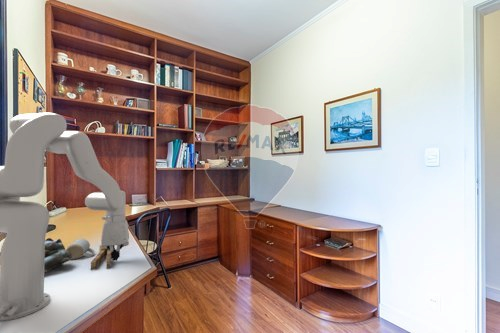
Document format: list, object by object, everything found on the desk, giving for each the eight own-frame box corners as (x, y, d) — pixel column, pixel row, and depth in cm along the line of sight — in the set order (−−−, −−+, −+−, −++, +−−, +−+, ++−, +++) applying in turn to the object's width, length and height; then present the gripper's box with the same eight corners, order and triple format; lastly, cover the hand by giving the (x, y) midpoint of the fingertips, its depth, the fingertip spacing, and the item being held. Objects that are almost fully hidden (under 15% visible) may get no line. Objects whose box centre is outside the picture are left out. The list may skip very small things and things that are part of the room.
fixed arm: (95, 269, 96) (95, 261, 96) (90, 270, 96) (90, 262, 96) (106, 254, 113) (106, 247, 113) (102, 254, 113) (102, 248, 113)
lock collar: (111, 255, 112) (111, 245, 112) (99, 256, 111) (99, 246, 111) (112, 253, 114) (113, 243, 115) (100, 254, 113) (100, 244, 113)
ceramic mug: (63, 261, 105) (64, 243, 105) (71, 254, 113) (72, 238, 113) (91, 258, 108) (91, 242, 108) (96, 252, 116) (97, 237, 116)
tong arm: (110, 267, 98) (110, 260, 98) (106, 268, 97) (106, 261, 97) (110, 255, 112) (110, 249, 112) (107, 256, 111) (107, 249, 111)
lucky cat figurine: (25, 281, 86) (12, 247, 87) (29, 282, 94) (17, 251, 96) (74, 259, 96) (61, 228, 97) (73, 262, 104) (61, 234, 106)
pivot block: (110, 255, 113) (110, 248, 113) (102, 255, 112) (102, 249, 112) (111, 253, 115) (111, 246, 115) (104, 253, 114) (104, 247, 114)
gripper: (93, 221, 98) (93, 264, 98) (132, 219, 103) (132, 260, 103) (99, 217, 106) (98, 258, 105) (135, 215, 110) (135, 254, 110)
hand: (115, 259), depth 104 cm, fingers closed
